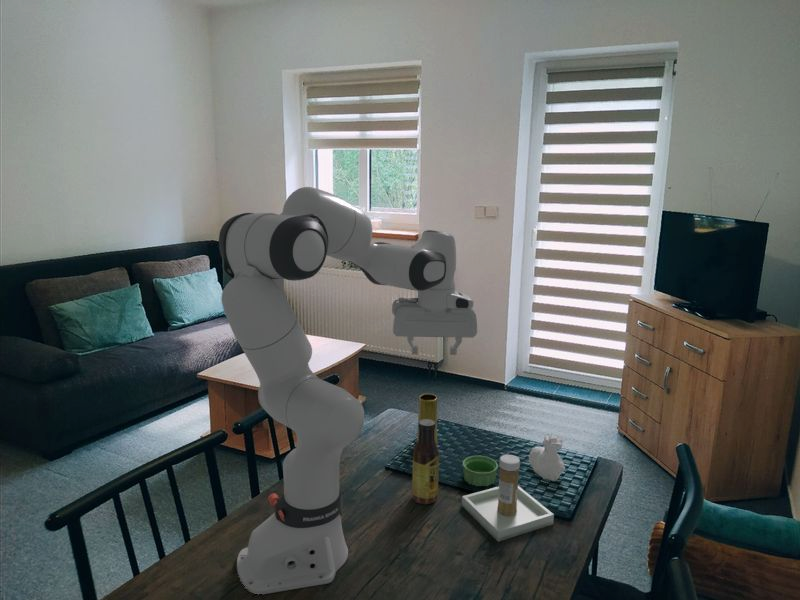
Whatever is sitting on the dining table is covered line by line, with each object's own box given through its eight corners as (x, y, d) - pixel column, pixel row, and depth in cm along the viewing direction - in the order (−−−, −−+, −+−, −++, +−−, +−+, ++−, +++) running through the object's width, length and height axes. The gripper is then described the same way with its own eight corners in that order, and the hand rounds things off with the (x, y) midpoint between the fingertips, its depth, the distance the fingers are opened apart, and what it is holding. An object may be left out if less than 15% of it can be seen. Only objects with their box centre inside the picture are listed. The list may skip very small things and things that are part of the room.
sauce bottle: (433, 508, 141) (435, 430, 136) (408, 502, 143) (409, 426, 138) (440, 493, 147) (443, 419, 142) (416, 488, 149) (418, 415, 144)
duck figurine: (562, 491, 152) (586, 454, 153) (545, 480, 149) (569, 442, 150) (532, 469, 163) (554, 435, 164) (515, 459, 159) (538, 423, 160)
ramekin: (460, 486, 150) (461, 471, 149) (463, 468, 159) (463, 453, 158) (496, 490, 149) (497, 474, 148) (497, 472, 157) (498, 457, 156)
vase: (427, 436, 177) (428, 391, 173) (442, 443, 172) (443, 397, 169) (412, 442, 173) (413, 396, 170) (426, 450, 169) (427, 403, 165)
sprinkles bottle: (520, 512, 138) (524, 459, 135) (507, 519, 136) (510, 465, 132) (505, 503, 142) (508, 451, 139) (492, 510, 139) (495, 457, 136)
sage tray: (498, 541, 129) (498, 531, 128) (461, 505, 142) (462, 496, 141) (553, 524, 135) (553, 514, 135) (513, 491, 148) (514, 482, 148)
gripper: (392, 300, 139) (391, 357, 142) (480, 301, 139) (476, 358, 142) (392, 294, 145) (390, 349, 148) (475, 296, 146) (472, 350, 148)
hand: (433, 353), depth 145 cm, fingers open, 8 cm apart
